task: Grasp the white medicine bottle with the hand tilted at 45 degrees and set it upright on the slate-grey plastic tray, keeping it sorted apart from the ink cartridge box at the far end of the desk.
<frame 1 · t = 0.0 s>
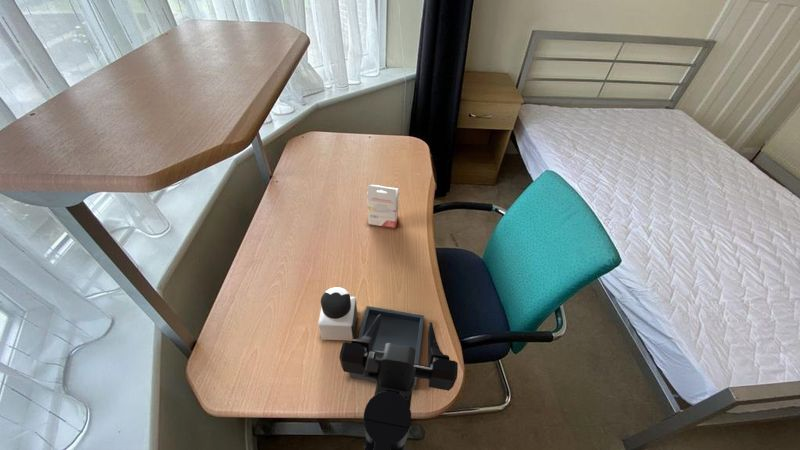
hand: (405, 319, 59), 16 cm above the table, tool horizontal, fingers open, 9 cm apart
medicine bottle: (340, 326, 75), on the table
ink cartridge box: (383, 221, 100), on the table
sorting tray: (389, 347, 72), on the table
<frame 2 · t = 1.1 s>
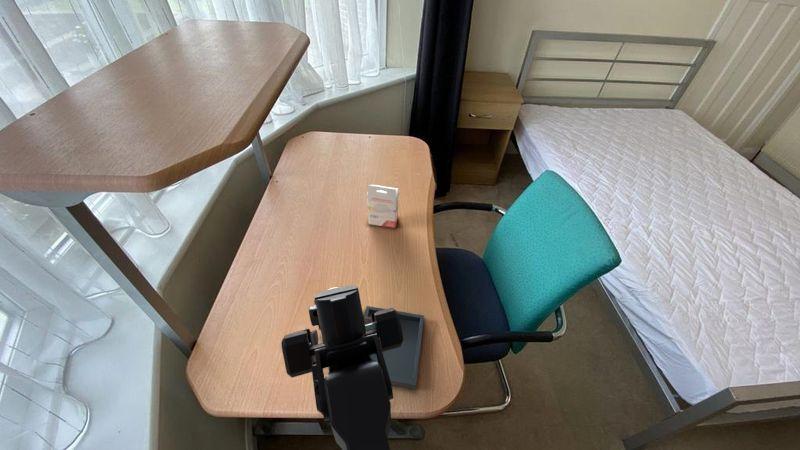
hand: (341, 325, 61), 13 cm above the table, tool tilted 45°, fingers open, 9 cm apart
nothing on the table moved.
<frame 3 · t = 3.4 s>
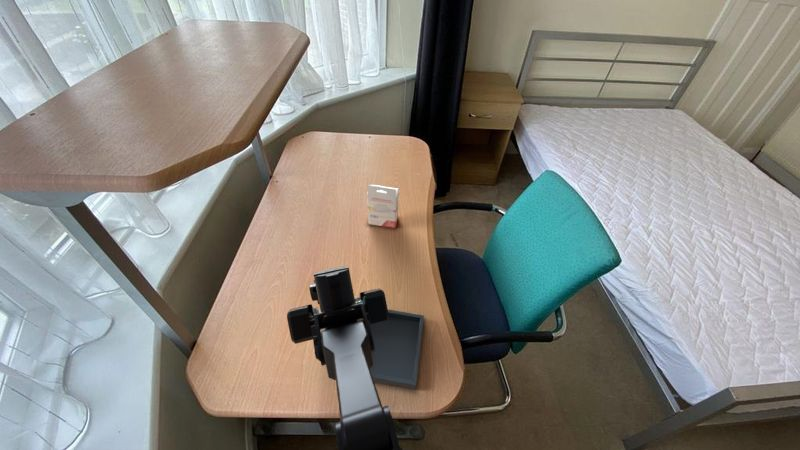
hand: (337, 304, 71), 7 cm above the table, tool tilted 45°, fingers closed on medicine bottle, 8 cm apart
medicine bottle: (340, 326, 75), on the table, touching gripper
everything else where it was.
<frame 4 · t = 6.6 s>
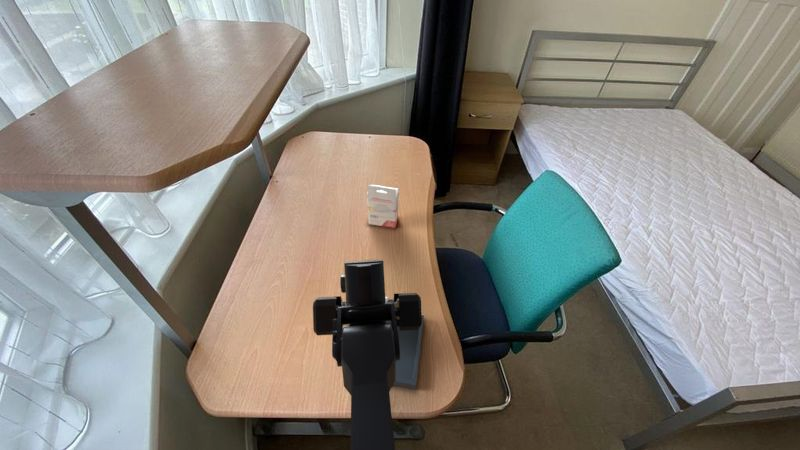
hand: (368, 302, 66), 12 cm above the table, tool tilted 45°, fingers closed on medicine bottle, 8 cm apart
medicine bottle: (368, 326, 69), point 5 cm above the table, touching gripper
everything else where it was.
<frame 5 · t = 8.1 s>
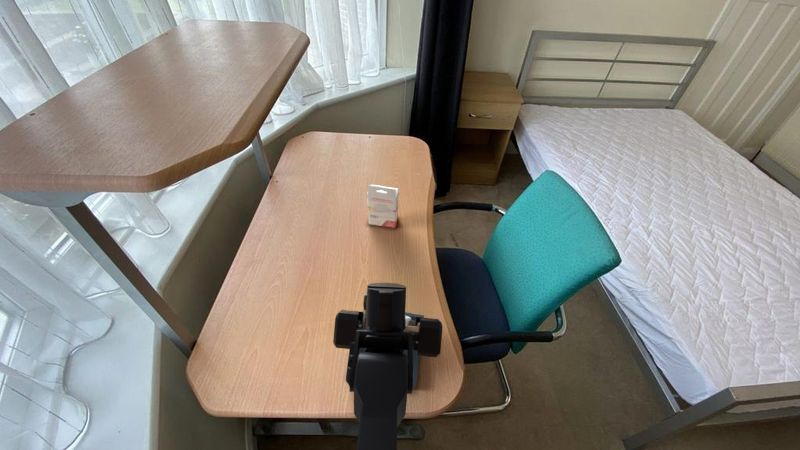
hand: (390, 320, 66), 10 cm above the table, tool tilted 45°, fingers closed on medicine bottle, 8 cm apart
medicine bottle: (388, 342, 69), point 3 cm above the table, touching gripper
everything else where it was.
when the fingers open (7 cm above the table, at t = 9.6 s): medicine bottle stays where it is, resting on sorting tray.
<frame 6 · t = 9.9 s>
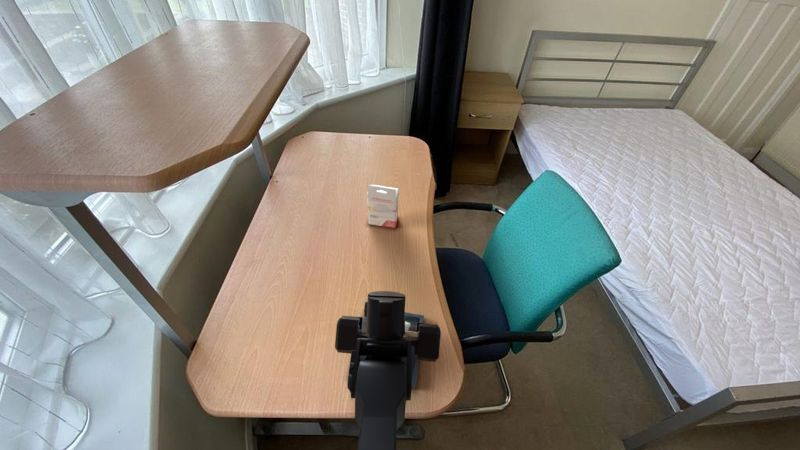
hand: (390, 324, 67), 8 cm above the table, tool tilted 45°, fingers open, 9 cm apart
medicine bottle: (388, 347, 71), resting on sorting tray
everything else where it was.
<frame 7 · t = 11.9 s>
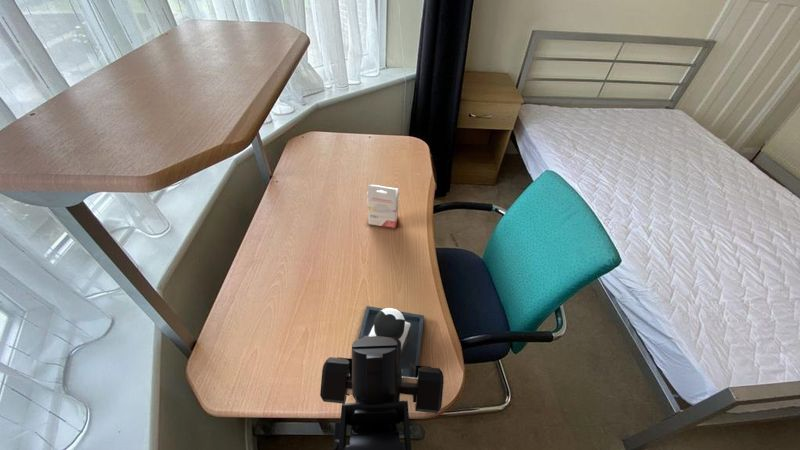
hand: (385, 362, 59), 10 cm above the table, tool tilted 45°, fingers open, 9 cm apart
nothing on the table moved.
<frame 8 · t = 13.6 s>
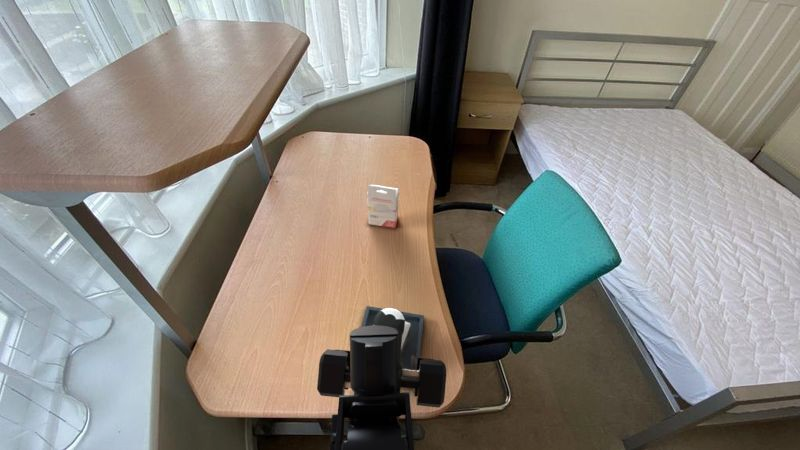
hand: (385, 355, 57), 14 cm above the table, tool tilted 45°, fingers open, 9 cm apart
nothing on the table moved.
at the end: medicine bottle inside the target area in the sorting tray (0.2 cm from its centre), point 0.3 cm above the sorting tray's base; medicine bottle tilted 0°; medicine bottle touching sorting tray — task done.
